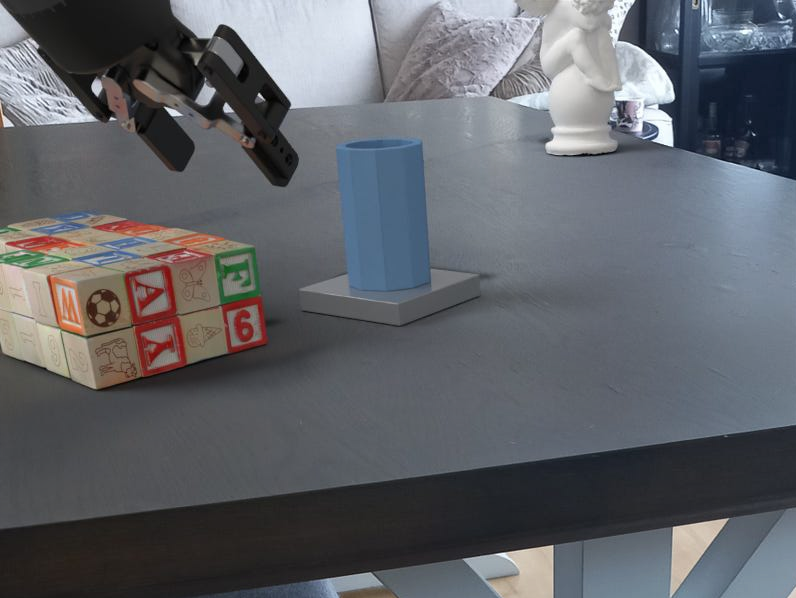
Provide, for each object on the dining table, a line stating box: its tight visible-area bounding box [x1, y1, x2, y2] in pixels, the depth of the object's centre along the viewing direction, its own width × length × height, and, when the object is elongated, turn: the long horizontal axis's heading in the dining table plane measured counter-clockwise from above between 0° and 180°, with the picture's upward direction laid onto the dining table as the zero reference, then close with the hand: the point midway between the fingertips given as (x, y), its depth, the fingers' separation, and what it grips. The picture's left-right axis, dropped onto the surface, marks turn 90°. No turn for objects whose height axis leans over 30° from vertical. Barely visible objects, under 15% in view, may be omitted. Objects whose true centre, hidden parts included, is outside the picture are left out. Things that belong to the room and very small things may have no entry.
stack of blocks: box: [0, 210, 268, 390], centre depth 79 cm, size 21×6×12 cm
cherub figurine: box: [513, 0, 623, 156], centre depth 140 cm, size 12×12×22 cm
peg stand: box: [298, 268, 481, 327], centre depth 83 cm, size 9×9×9 cm
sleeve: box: [335, 137, 431, 291], centre depth 82 cm, size 6×6×9 cm
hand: (235, 167), depth 73 cm, fingers open, 8 cm apart
